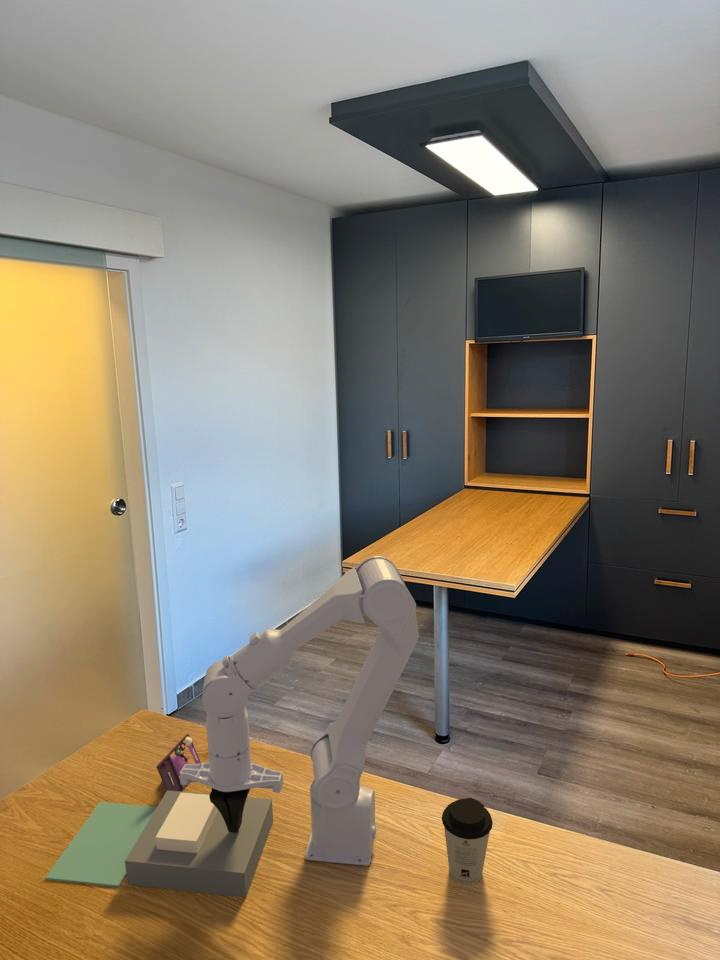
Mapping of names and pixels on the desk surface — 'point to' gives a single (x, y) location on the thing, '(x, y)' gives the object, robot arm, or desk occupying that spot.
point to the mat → (102, 845)
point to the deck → (203, 853)
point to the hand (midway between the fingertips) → (235, 827)
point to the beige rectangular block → (187, 823)
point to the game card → (176, 765)
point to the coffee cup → (466, 838)
